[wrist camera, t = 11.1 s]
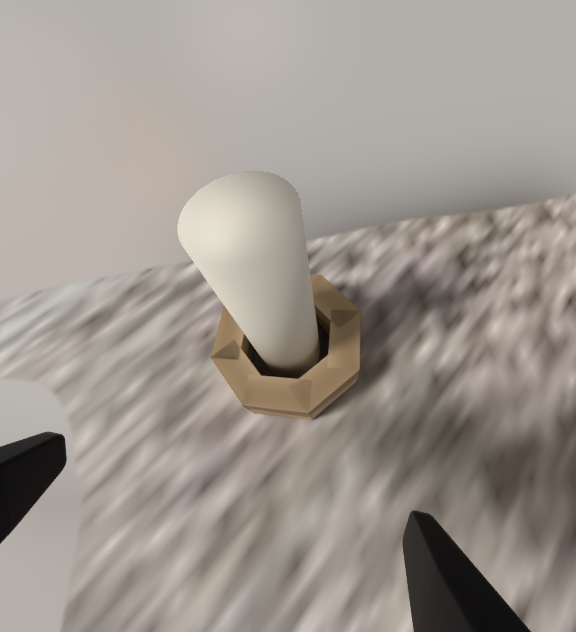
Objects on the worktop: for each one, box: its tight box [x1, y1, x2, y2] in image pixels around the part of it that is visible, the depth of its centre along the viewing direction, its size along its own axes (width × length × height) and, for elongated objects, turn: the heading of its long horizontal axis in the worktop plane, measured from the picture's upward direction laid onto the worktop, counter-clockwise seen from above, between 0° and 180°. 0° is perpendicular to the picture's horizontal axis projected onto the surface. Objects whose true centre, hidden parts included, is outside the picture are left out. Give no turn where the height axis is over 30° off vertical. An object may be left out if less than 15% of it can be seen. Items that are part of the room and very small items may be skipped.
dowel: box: [178, 171, 320, 378], centre depth 17 cm, size 4×4×14 cm
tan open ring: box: [211, 275, 361, 420], centre depth 21 cm, size 10×10×3 cm
